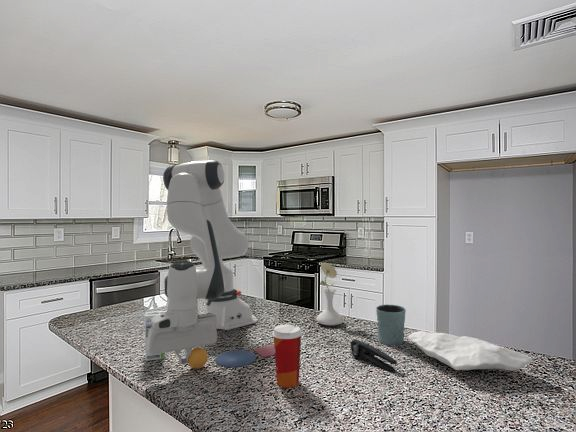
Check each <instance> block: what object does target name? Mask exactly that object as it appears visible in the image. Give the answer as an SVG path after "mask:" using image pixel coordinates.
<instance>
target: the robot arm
mask: <svg viewBox="0 0 576 432" xmlns="http://www.w3.org/2000/svg"><path fill="white" fill-rule="evenodd" d="M162 179H163V184H164V187H165V188H166V190H167V197H166V198H167V199H166V213H167V221H168V223H169V224H170V226H171V227H172V228H174V230H176V231H179V232H181V233H184V234H186V235H188V236H191V238H190V241H189V242H190V243H189V246H190V250H191V252H192V253H193V254H194V255H196V257H197V258H198V259H199V260H200V263H201V264H202V266H203V268H196V264H195V263H194V262H191V261H188V260H187V261H186V260H181V261H175V262H173V263H171V264H170V265H169V266H168V267H169V268H168V272H167V275H166V277H164V295H165V297H167V298H168V303H167V305H166V306H167V308H166V311H164V313H162V314H159V315H157V316H155V317H153V318H152V319H151V324H152V327H151V328H150V329H149V332H148V337H147V351H148V353H149V354H150V355H156V354H161V353H171V352H174V354H175V355H176V356H177V357H178V365H185V364H186V365H187V364H188V358H189V356H190V354H191V352H192V349H194V348H201V347H204V346H209V345H215V344H216V342H217V341H218V332H217V330H218V329H219V330H225V331H228V330H233V329H237V328H240V327H244V326H248V325H252V324H256V323H258V318H257V317H256V316H255V315H254V314H253V313H252V312H253V311H252V309H251V306H250V305H249V304H248V303H246V302H245V301H243V300H242V299H240V298H239V297H240V296H241V295H242V291H241V290H238V289H235V288H234V272H233V270H232V268H231V267H229V266H228V265H226V264H225V262H224V260H223V258H236V257H241V256H244V255H245V254H246V253H247V251H248V249H249V245H250V241H249V238H248V236H247V235H246V234H245V233H244V232H243V231H241V230H240V229H238V227H236V226H235V225H234V223H233V222H232V220H231V219H230V218H229V215H228V214H227V213H228V212H227V211H226V207H225V202H224V199H223V194H222V191H221V188H222V185H223V184H224V182H225V171H224V168H223V165H222V164H221V163H220V162H219V161H217V160H213V159H212V160H211V159H209V160H197V161H196V160H195V161H194V160H193V161H191V162H184V163H180V164H173V165H169V166H167V167H166V169H165V170H164V172H163V176H162ZM238 296H239V297H238ZM197 300H204V301H205V303H204V304H205V313H202V314H199V304H198V301H197ZM183 350H185V351H186V352H185V354H184V356H181V355H180V354H182V351H183Z"/></svg>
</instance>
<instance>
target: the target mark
mask: <svg viewBox="0 0 576 432" xmlns="http://www.w3.org/2000/svg"><path fill="white" fill-rule="evenodd" d="M256 360H257V355H256V354H255V353H254V352H252V351H250V350H249V351H248V350H244V349H243V350H242V349H235V350H234V349H233V350H228V351H225V352H221V353H220V354H218V355H216V357H215V359H214V361H215V363H216V364H217V365H218V366H221V367H226V368H237V367H240V368H241V367H245V366H248V365H251V364H252V363H253V362H255V361H256Z"/></svg>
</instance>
